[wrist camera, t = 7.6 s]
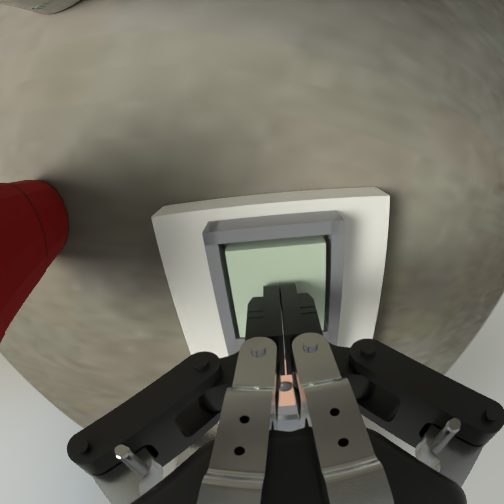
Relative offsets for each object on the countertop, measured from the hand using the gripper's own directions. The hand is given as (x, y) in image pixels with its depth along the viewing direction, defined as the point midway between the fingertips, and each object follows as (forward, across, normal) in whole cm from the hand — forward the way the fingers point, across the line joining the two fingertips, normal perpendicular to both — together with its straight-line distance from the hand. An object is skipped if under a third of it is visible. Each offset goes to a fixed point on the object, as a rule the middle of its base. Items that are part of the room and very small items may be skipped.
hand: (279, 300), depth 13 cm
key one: (+2, 0, 0) cm, 2 cm away
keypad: (+4, 0, +7) cm, 8 cm away
